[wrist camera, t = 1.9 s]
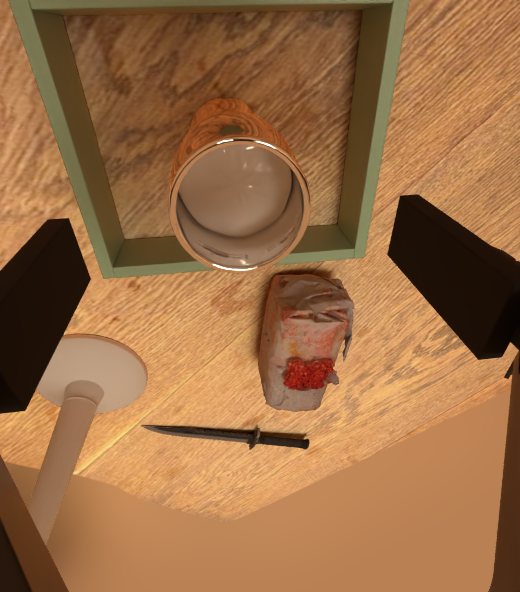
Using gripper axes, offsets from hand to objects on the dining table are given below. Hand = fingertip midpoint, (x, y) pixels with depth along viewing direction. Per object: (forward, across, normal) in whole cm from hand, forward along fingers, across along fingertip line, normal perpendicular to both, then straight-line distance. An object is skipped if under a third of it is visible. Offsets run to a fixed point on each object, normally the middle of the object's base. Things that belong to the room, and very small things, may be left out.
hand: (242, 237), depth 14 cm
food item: (+17, +6, -19) cm, 26 cm away
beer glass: (+17, 0, 0) cm, 17 cm away
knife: (+18, -3, -40) cm, 44 cm away
